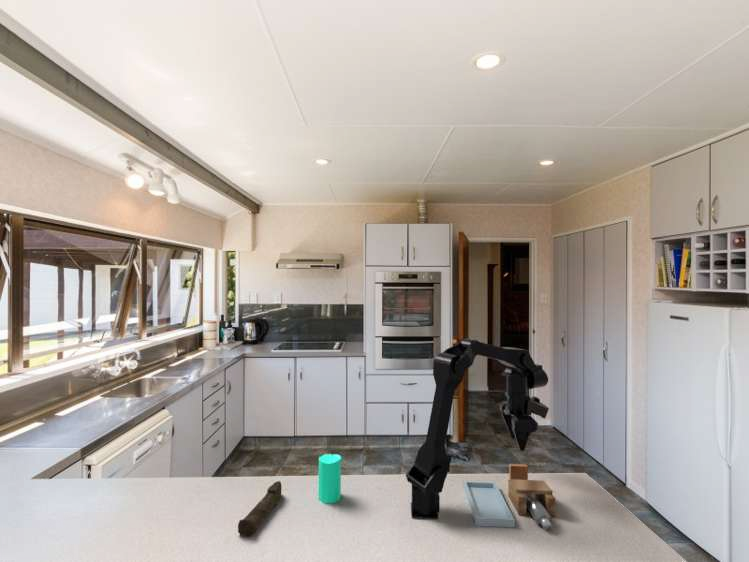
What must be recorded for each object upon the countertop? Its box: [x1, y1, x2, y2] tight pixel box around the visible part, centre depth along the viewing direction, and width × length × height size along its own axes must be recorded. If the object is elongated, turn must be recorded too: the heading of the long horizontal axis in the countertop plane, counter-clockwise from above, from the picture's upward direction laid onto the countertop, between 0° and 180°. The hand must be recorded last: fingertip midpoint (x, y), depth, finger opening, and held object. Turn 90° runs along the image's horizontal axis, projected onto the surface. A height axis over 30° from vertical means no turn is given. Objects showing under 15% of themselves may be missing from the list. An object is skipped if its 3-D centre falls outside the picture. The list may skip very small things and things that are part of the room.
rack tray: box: [462, 480, 516, 528], centre depth 102 cm, size 9×19×2 cm, turn 177°
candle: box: [317, 453, 342, 504], centre depth 105 cm, size 6×6×12 cm
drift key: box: [508, 463, 529, 480], centre depth 109 cm, size 5×9×6 cm, turn 177°
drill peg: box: [524, 493, 553, 531], centre depth 97 cm, size 4×13×4 cm, turn 177°
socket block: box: [507, 479, 556, 518], centre depth 102 cm, size 9×9×5 cm
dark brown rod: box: [237, 480, 283, 538], centre depth 97 cm, size 19×4×5 cm, turn 167°
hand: (517, 444), depth 115 cm, fingers open, 9 cm apart
